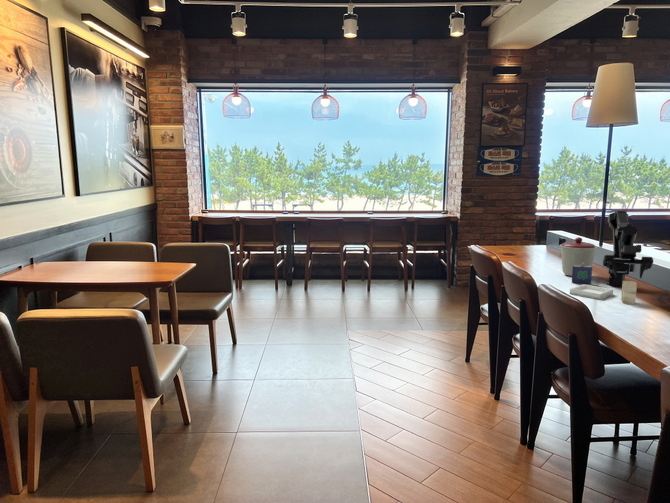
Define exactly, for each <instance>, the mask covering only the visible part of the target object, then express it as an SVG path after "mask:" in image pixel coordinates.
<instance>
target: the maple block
mask: <svg viewBox="0 0 670 503" xmlns="http://www.w3.org/2000/svg"><path fill="white" fill-rule="evenodd" d="M637 288H638V283H637V282H636V281H635V280H634V281H632V280H624V281H623V284H622V287H621V297H620V301H621V302H622V304H626V305H629V304H631V305H636V299H637V298H636V297H637V290H638V289H637Z"/></svg>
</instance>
